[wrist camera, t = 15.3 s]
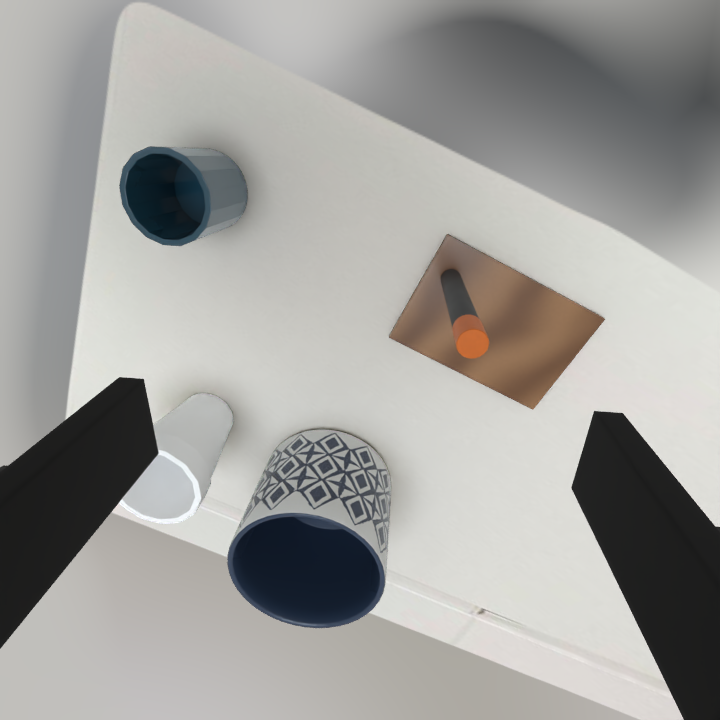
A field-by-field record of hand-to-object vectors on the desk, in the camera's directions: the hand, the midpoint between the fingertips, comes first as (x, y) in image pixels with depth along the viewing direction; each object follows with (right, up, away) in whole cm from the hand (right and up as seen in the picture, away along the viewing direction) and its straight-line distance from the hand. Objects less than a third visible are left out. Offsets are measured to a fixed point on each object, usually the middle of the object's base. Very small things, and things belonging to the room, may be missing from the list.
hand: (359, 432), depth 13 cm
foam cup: (-19, -5, +42) cm, 46 cm away
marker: (+9, +10, +31) cm, 34 cm away
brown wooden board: (+14, +6, +33) cm, 36 cm away
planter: (-4, -13, +44) cm, 46 cm away
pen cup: (-15, +19, +30) cm, 38 cm away
